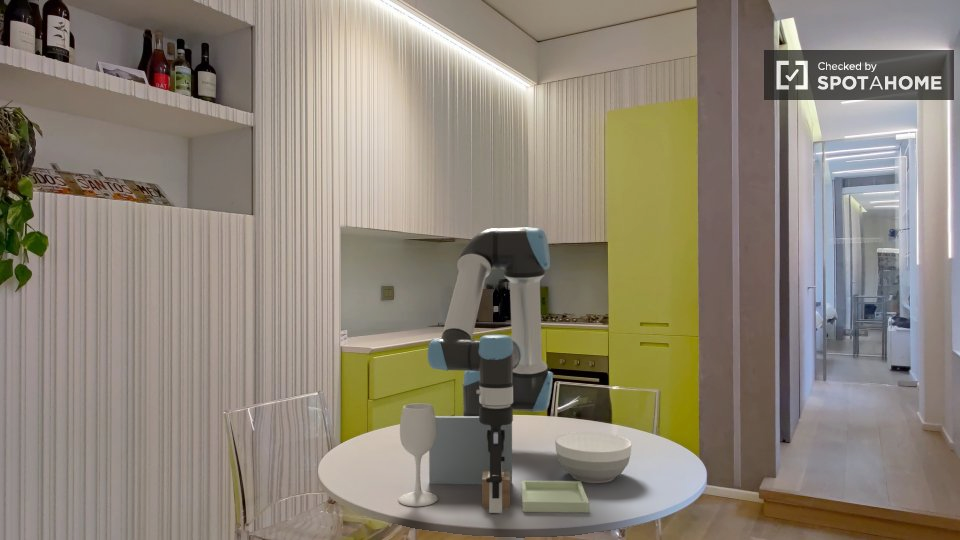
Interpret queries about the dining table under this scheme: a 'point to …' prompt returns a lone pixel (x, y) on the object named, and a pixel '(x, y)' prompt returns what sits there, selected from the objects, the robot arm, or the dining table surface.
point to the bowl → (593, 455)
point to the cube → (505, 488)
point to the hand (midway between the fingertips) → (495, 501)
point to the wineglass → (418, 446)
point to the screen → (464, 451)
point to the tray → (553, 496)
